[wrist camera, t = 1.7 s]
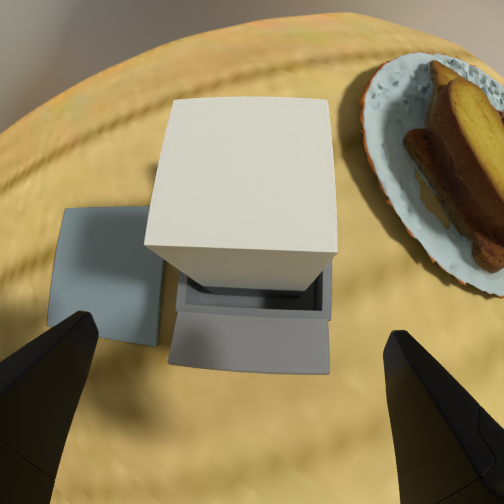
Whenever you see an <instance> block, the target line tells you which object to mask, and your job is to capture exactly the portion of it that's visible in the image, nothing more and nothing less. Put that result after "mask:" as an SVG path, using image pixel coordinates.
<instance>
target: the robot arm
mask: <svg viewBox="0 0 504 504" xmlns="http://www.w3.org/2000/svg"><path fill="white" fill-rule="evenodd" d="M98 337H99V331H98V328H97V326H96V323H95V321H94V318H93V316H92V314H91V313H90V312H88V311H82V310H79V311H77V312H75V313H74V314H72V315H70V316H69V317H67V318H66V319H64V320H63V321H61V322H60V323H58V324H56V325H55V326H53V327H52V328H50V329H49V330H47V331H46V332H44V333H43V334H41V335H40V336H38V337H37V338H35V339H34V340H32V341H31V342H29V343H28V344H26V345H25V346H23V347H22V348H20V349H19V350H17V351H16V352H14V353H13V354H11V355H10V356H8V357H7V358H6V359H4V360H3V361H1V362H0V504H50V500H51V496H52V492H53V487H54V483H55V479H56V475H57V471H58V467H59V463H60V460H61V456H62V453H63V449H64V446H65V442H66V439H67V436H68V433H69V429H70V426H71V423H72V420H73V417H74V414H75V411H76V408H77V405H78V402H79V399H80V396H81V394H82V391H83V388H84V385H85V383H86V380H87V377H88V373H89V370H90V366H91V362H92V359H93V355H94V351H95V348H96V344H97V341H98ZM383 361H384V372H385V384H386V397H387V405H388V411H389V417H390V423H391V429H392V436H393V442H394V449H395V457H396V465H397V473H398V482H399V492H400V504H504V429H503V428H502V427H501V426H500V425H499V424H498V423H497V422H496V421H495V420H494V419H493V418H492V417H491V416H490V415H489V414H488V413H487V412H486V411H485V409H484V408H483V407H482V406H480V404H479V403H478V402H477V401H476V400H475V399H474V398H473V397H472V396H471V395H470V394H469V393H468V392H467V391H466V390H465V389H464V388H463V387H462V386H461V384H460V383H459V382H458V381H457V380H456V379H455V378H454V377H453V376H452V375H451V374H450V373H449V372H448V371H447V370H446V369H445V368H444V367H443V366H442V365H441V364H440V363H439V362H438V361H437V360H436V359H435V358H434V357H433V356H432V355H431V354H430V353H429V352H428V351H427V350H426V349H425V348H424V347H423V346H422V345H420V344H419V343H418V342H417V341H416V340H415V339H414V338H413V337H412V336H411V335H410V334H409V333H408V332H407V331H405V330H394V331H392V332H391V333H390V336H389V338H388V341H387V343H386V345H385V348H384V351H383Z"/></svg>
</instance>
